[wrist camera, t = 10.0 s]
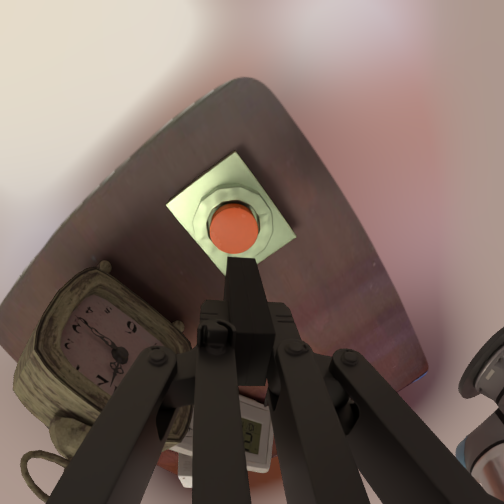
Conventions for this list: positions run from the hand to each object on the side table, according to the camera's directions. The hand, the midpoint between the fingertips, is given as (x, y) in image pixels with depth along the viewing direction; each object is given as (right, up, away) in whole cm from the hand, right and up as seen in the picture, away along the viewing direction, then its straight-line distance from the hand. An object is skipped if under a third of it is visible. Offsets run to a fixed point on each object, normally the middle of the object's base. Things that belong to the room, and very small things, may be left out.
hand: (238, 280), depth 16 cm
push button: (-1, +4, +10) cm, 10 cm away
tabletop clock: (-14, -5, +16) cm, 22 cm away
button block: (-1, +5, +13) cm, 14 cm away
